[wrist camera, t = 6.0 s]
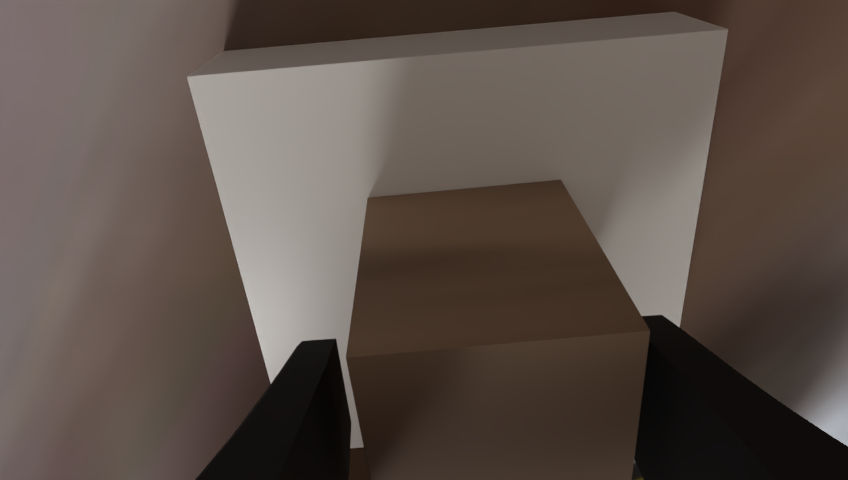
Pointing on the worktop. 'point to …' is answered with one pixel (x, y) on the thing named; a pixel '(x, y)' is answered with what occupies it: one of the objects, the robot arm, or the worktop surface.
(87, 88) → the worktop surface
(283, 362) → the riser
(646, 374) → the robot arm
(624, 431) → the block
